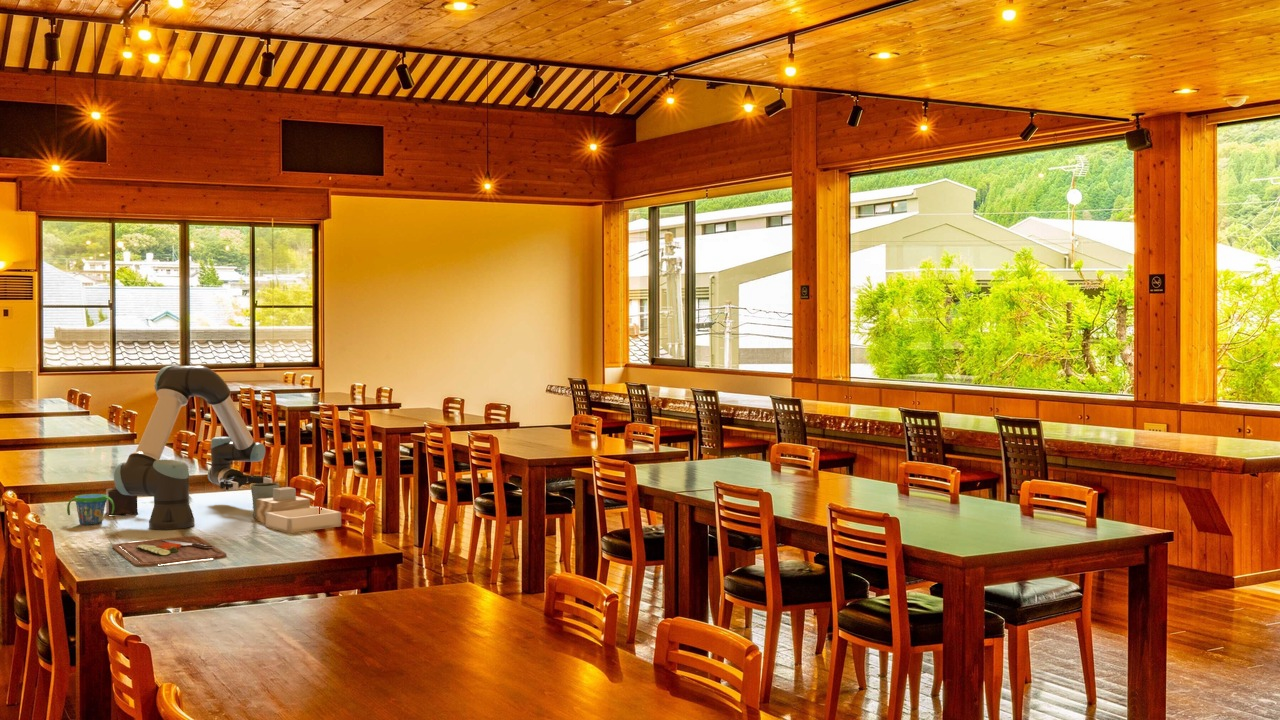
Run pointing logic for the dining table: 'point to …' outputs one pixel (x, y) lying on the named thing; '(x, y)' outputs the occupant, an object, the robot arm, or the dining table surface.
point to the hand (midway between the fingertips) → (254, 484)
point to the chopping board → (169, 551)
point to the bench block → (278, 506)
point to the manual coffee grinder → (120, 503)
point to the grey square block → (284, 493)
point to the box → (303, 519)
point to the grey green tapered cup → (262, 492)
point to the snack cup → (90, 508)
